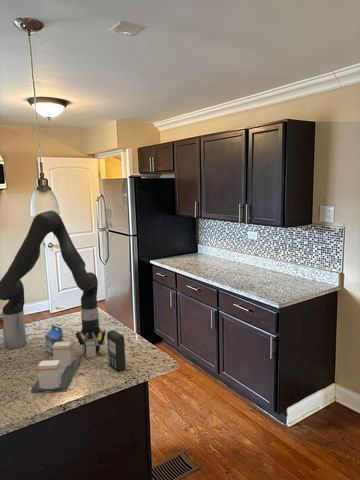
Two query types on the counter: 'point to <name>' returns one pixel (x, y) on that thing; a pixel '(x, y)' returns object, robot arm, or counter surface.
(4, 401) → the counter surface
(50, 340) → the label tape cartridge
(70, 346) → the mounted modules
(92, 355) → the block
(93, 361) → the counter surface
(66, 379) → the rail plate
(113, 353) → the black card payment terminal
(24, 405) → the counter surface
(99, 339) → the emergency button
